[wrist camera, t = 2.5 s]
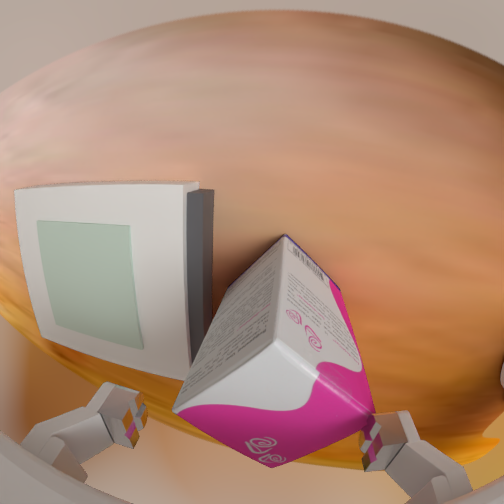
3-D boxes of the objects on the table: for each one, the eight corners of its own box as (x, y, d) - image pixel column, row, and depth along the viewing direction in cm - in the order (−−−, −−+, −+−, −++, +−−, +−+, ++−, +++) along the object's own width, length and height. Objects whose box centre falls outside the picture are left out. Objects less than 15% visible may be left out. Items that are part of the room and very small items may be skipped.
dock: (214, 181, 18) (199, 185, 15) (213, 360, 22) (202, 387, 19) (37, 185, 19) (11, 190, 16) (58, 322, 24) (39, 338, 20)
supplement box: (224, 289, 20) (163, 410, 9) (285, 231, 18) (280, 328, 7) (281, 340, 21) (270, 473, 10) (343, 290, 19) (387, 418, 8)
